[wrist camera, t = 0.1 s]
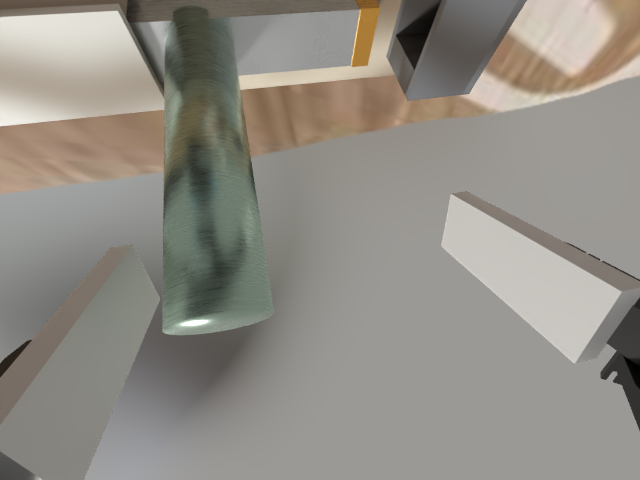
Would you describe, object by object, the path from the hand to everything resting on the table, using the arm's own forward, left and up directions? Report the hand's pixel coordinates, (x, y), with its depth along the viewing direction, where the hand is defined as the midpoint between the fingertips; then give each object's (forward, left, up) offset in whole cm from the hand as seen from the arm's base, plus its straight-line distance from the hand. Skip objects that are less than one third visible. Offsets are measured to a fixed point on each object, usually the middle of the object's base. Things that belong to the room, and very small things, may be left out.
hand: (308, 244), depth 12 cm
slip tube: (-2, -4, -13) cm, 14 cm away
